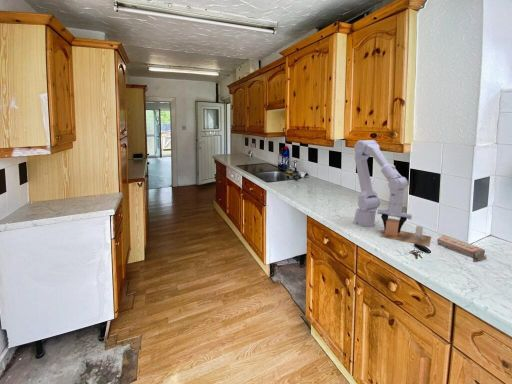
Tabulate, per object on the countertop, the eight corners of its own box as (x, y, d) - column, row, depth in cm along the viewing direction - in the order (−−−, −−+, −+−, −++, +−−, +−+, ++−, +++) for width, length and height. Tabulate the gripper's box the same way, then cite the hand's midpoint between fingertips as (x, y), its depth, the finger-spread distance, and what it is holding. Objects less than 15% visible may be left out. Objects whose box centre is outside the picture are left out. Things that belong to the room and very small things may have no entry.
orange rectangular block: (384, 234, 142) (386, 220, 141) (386, 231, 147) (388, 218, 145) (396, 236, 140) (398, 223, 138) (398, 233, 144) (400, 220, 143)
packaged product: (489, 248, 121) (473, 252, 117) (487, 259, 122) (471, 263, 118) (446, 232, 137) (431, 235, 133) (444, 242, 138) (429, 246, 134)
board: (379, 239, 140) (379, 236, 140) (385, 230, 151) (385, 227, 151) (429, 249, 130) (429, 246, 129) (430, 239, 141) (431, 236, 141)
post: (414, 239, 137) (416, 227, 136) (414, 237, 139) (416, 225, 138) (420, 240, 136) (422, 228, 135) (421, 238, 138) (423, 227, 137)
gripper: (377, 202, 140) (374, 230, 143) (412, 207, 133) (408, 236, 136) (380, 199, 146) (377, 226, 149) (413, 204, 139) (409, 232, 142)
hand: (392, 231), depth 143 cm, fingers closed on orange rectangular block, 5 cm apart
